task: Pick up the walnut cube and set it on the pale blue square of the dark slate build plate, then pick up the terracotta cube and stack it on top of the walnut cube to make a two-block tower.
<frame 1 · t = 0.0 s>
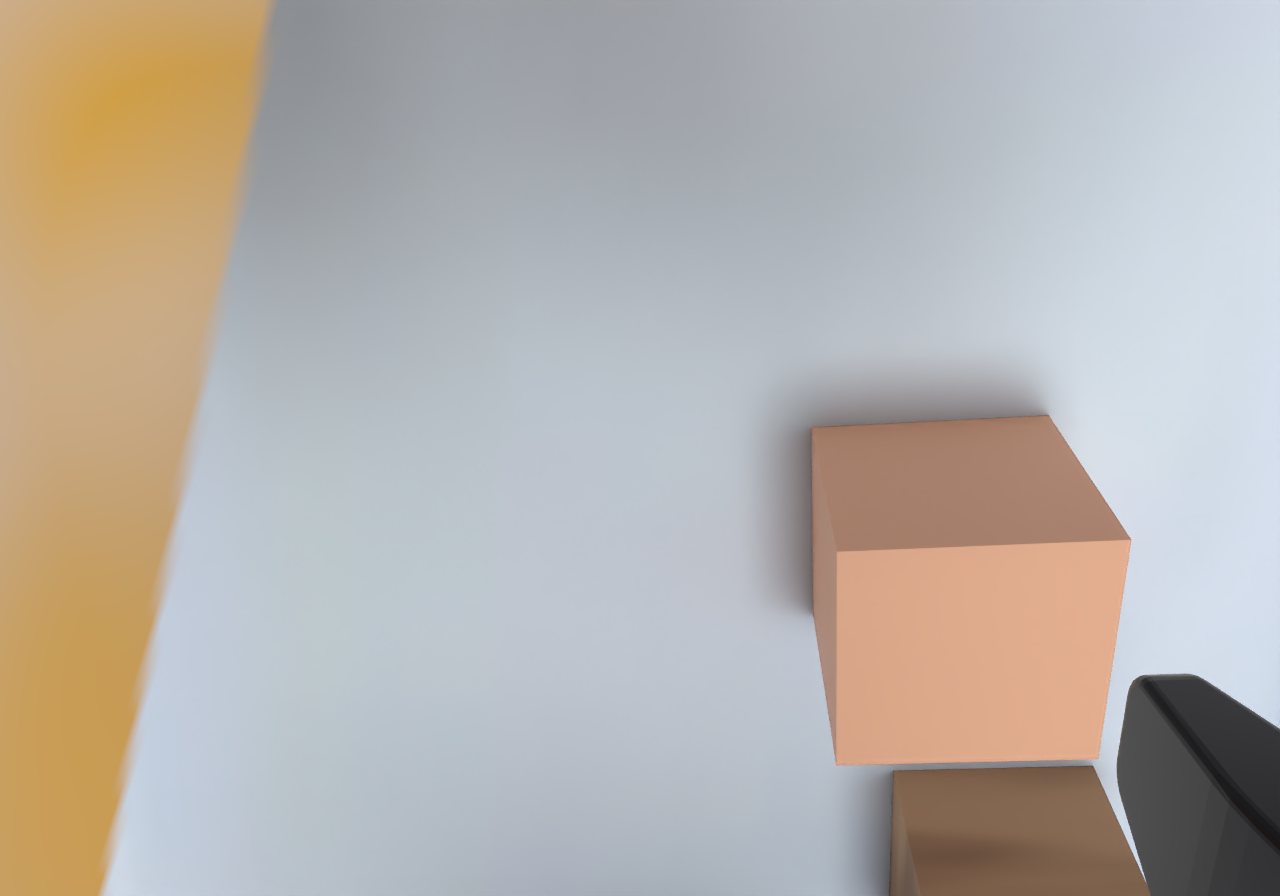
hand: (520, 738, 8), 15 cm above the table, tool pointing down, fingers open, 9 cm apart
top block: (923, 519, 24), on the table
base block: (985, 836, 28), on the table
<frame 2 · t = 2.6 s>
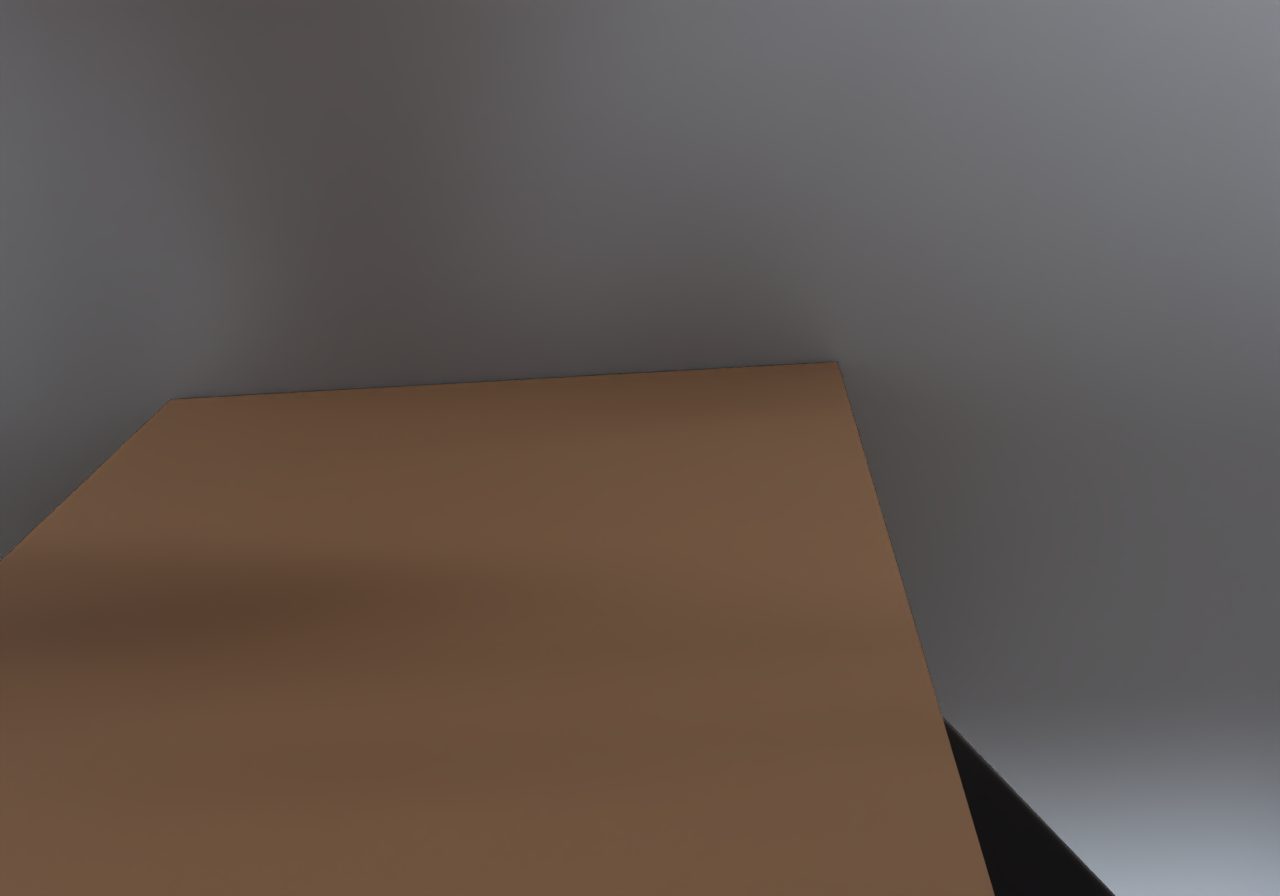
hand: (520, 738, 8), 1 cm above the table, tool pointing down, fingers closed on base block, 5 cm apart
base block: (538, 651, 9), on the table, touching gripper
when the fingers open (3 cm above the table, at t = 6.7 s): base block drops 2 cm, resting on build plate.
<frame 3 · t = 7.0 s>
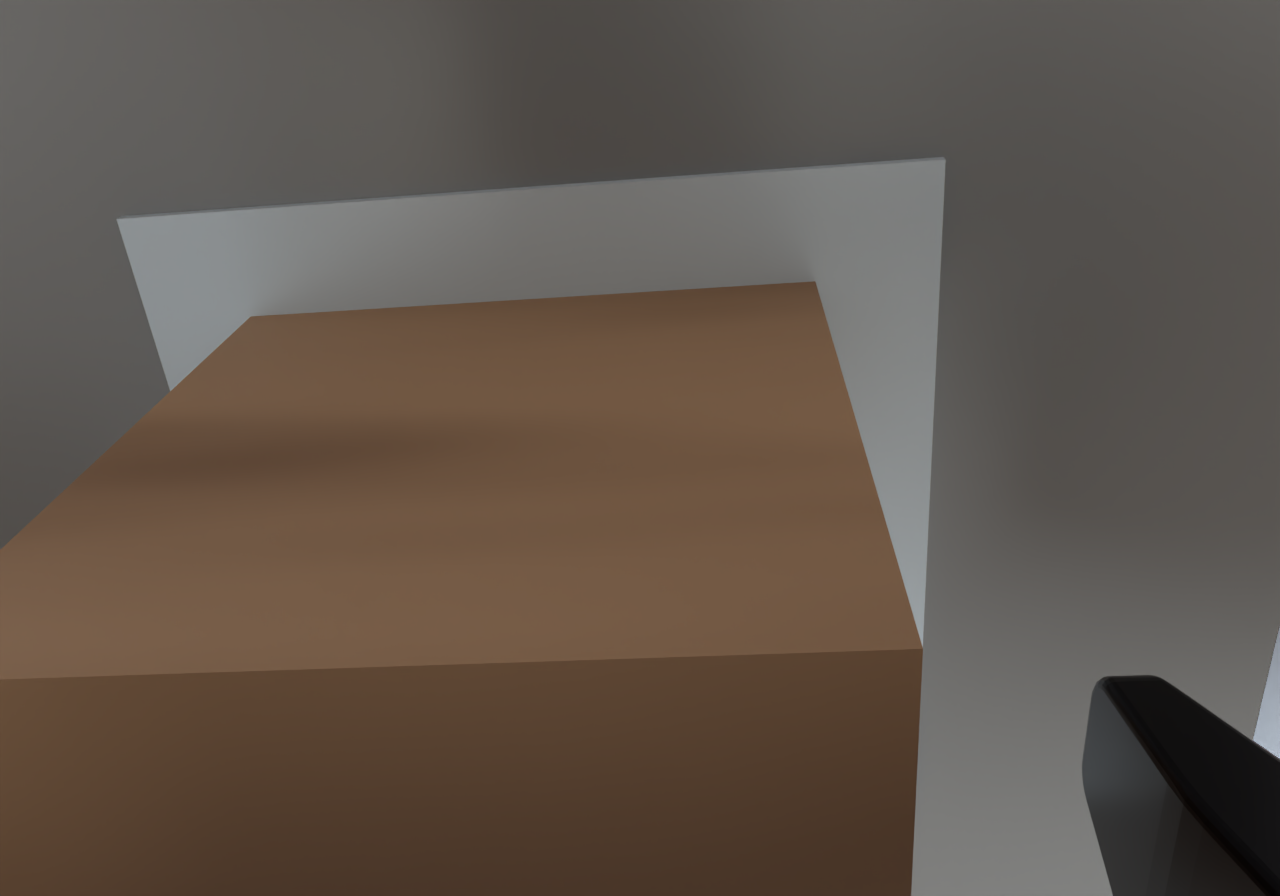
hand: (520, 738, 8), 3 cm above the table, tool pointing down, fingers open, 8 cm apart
build plate: (571, 518, 11), on the table
base block: (560, 541, 10), resting on build plate
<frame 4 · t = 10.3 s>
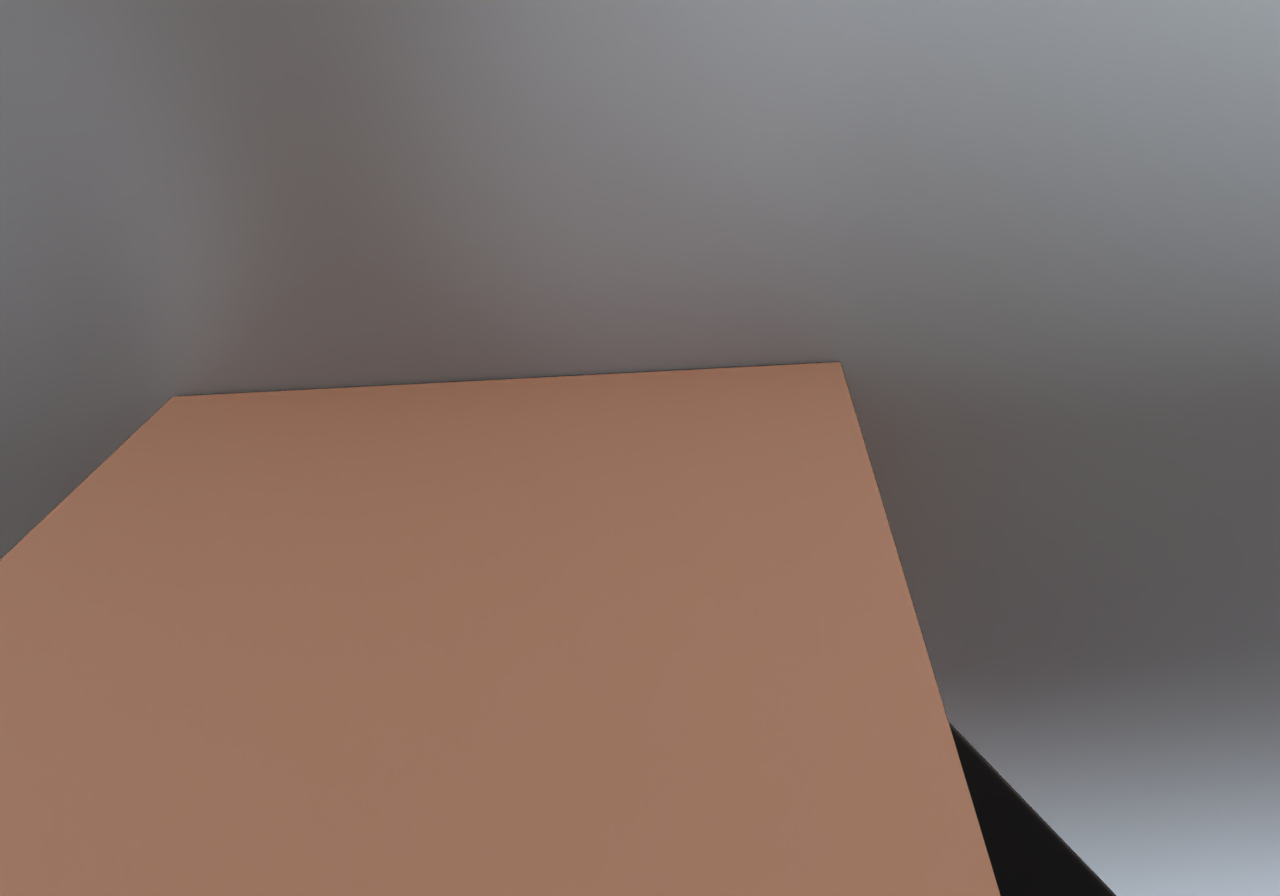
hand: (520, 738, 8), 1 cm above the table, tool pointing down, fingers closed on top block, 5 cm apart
top block: (538, 650, 9), on the table, touching gripper
when the fingers open (8 cm above the table, at t = 14.2 s): top block drops 1 cm, resting on base block.
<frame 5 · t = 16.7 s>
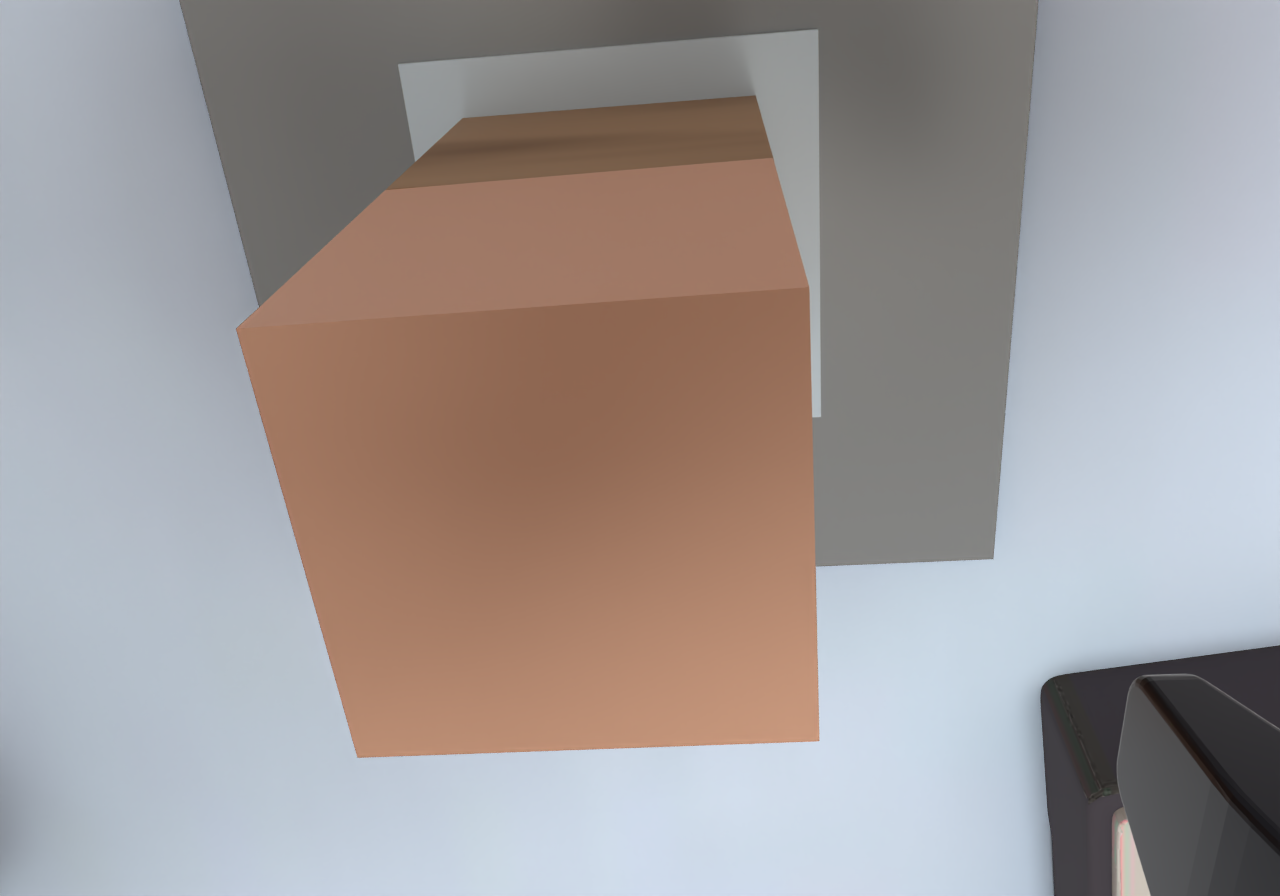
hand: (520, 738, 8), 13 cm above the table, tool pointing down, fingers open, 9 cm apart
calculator: (1270, 865, 27), on the table
top block: (597, 355, 15), point 5 cm above the table, touching base block
build plate: (625, 244, 20), on the table
base block: (620, 250, 19), resting on build plate, touching top block
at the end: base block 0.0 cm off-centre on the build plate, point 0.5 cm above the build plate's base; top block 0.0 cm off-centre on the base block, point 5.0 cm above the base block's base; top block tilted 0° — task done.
